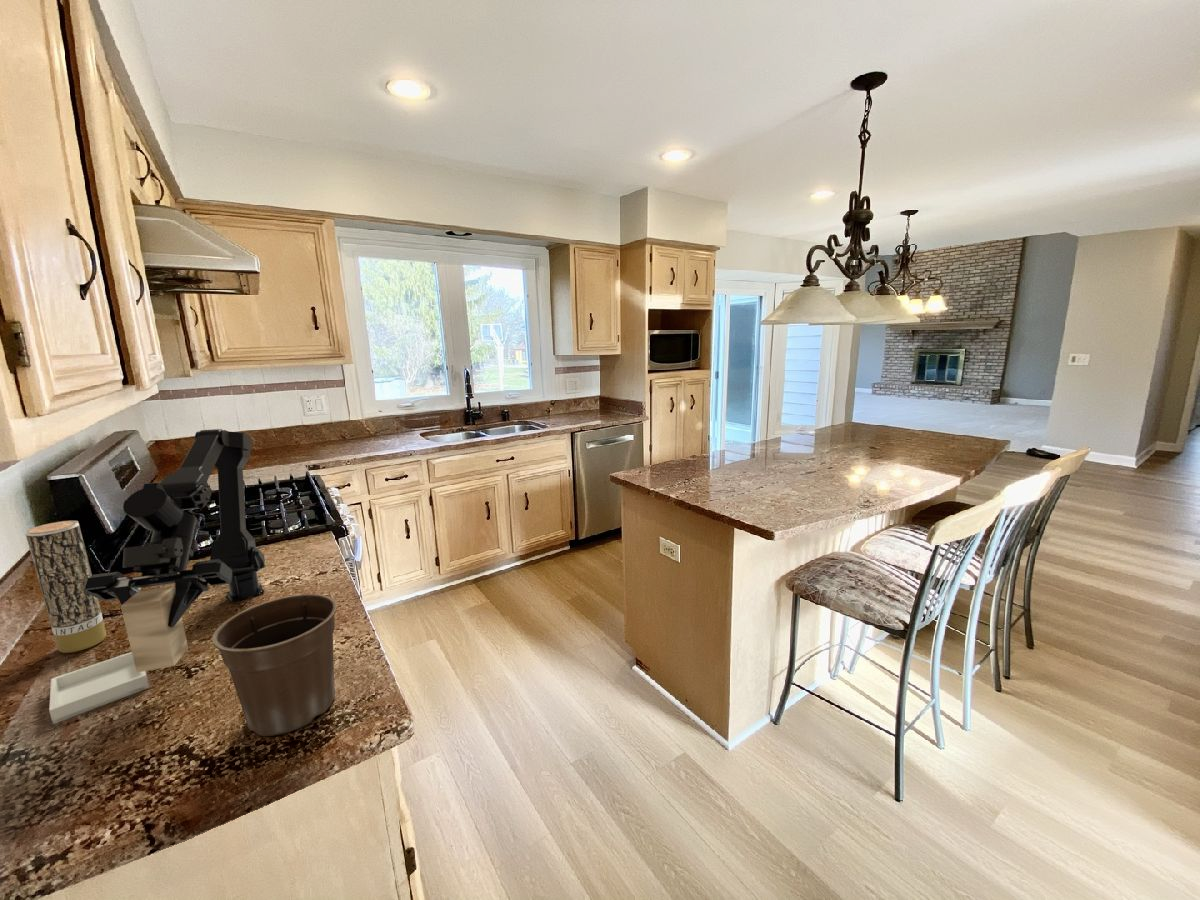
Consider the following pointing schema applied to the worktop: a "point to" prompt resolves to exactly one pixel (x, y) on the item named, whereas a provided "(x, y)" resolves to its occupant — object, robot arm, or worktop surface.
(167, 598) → the beech block
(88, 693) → the tray
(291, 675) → the plant pot
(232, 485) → the robot arm
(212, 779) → the worktop surface
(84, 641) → the bark-printed cylinder
